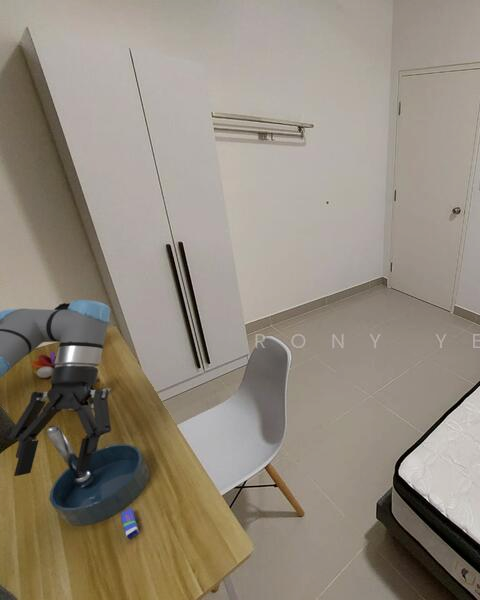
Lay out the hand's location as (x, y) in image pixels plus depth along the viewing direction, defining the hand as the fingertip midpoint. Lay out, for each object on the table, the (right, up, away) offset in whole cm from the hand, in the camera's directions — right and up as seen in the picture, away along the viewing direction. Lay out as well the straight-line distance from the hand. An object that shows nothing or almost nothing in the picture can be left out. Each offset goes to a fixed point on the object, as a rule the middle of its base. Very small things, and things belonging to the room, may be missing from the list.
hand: (52, 472), depth 69 cm
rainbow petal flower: (-44, +12, +43) cm, 63 cm away
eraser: (+15, -13, +2) cm, 20 cm away
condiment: (-23, +5, +33) cm, 40 cm away
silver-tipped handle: (-1, -7, +9) cm, 11 cm away
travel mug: (-42, +17, +51) cm, 68 cm away
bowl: (+4, -9, +9) cm, 13 cm away
